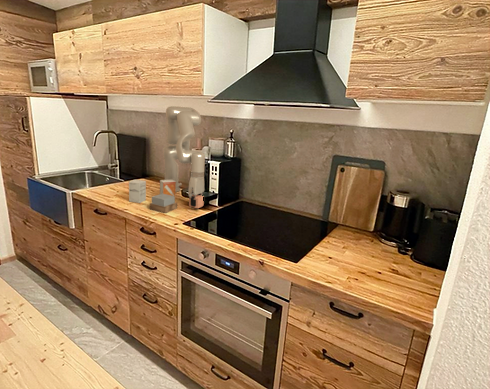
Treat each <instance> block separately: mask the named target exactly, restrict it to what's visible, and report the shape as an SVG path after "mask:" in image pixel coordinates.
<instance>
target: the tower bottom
mask: <svg viewBox="0 0 490 389" xmlns="http://www.w3.org/2000/svg"><path fill="white" fill-rule="evenodd" d="M176 209H178V202H176V201H175V203H173V204H170V205H168V206H165V207H163V206H159V205H155V204H152V202H151V203H149V210H150V211H152V212H153V211H154V212H156V213H157V212H158V213H161V214H167V213H171V212H172V211H175V210H176Z"/></svg>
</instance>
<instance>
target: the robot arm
mask: <svg viewBox="0 0 490 389" xmlns="http://www.w3.org/2000/svg"><path fill="white" fill-rule="evenodd" d="M165 117H166V121H167V127H166V142H167V143H168V144H170V145H166V146H164V147H163V150H162V152H163V154H162V155H163V160H164V180H174V181H175V182H176V193H177V191H178V192H181V187H180V186H182V185H183V183H182V182H179V173H180V172H179V169H180V168H179V167H180V166H179V164H178V162H179V163H180V164H190V177H189V181H188V192H187V193H188V197H190V199H191V206H194V207H195V206H196V200H195V198H196V195H201V196H202V195H203V196H204V192H205V191H206V189H205V162H206V161H205V160H206V155H205V153H203V152H201V150H197V149H196V150H195V149H193V150H192V149H191V148H190V147H191V146H190V145H191V140H192V139H193V138H195V136H196V132H195V131H196V130H195V128H194V126H200V125H201V123H202V117H201V114H200V112H199V111H197V110H196V109H194V108H193V107H186V106H175V105H174V106H173V105H172V106H168V107H166V110H165ZM190 149H191V150H190ZM176 160H178V162H177V161H176ZM193 195H194V197H193ZM194 207H193V208H194Z"/></svg>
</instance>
